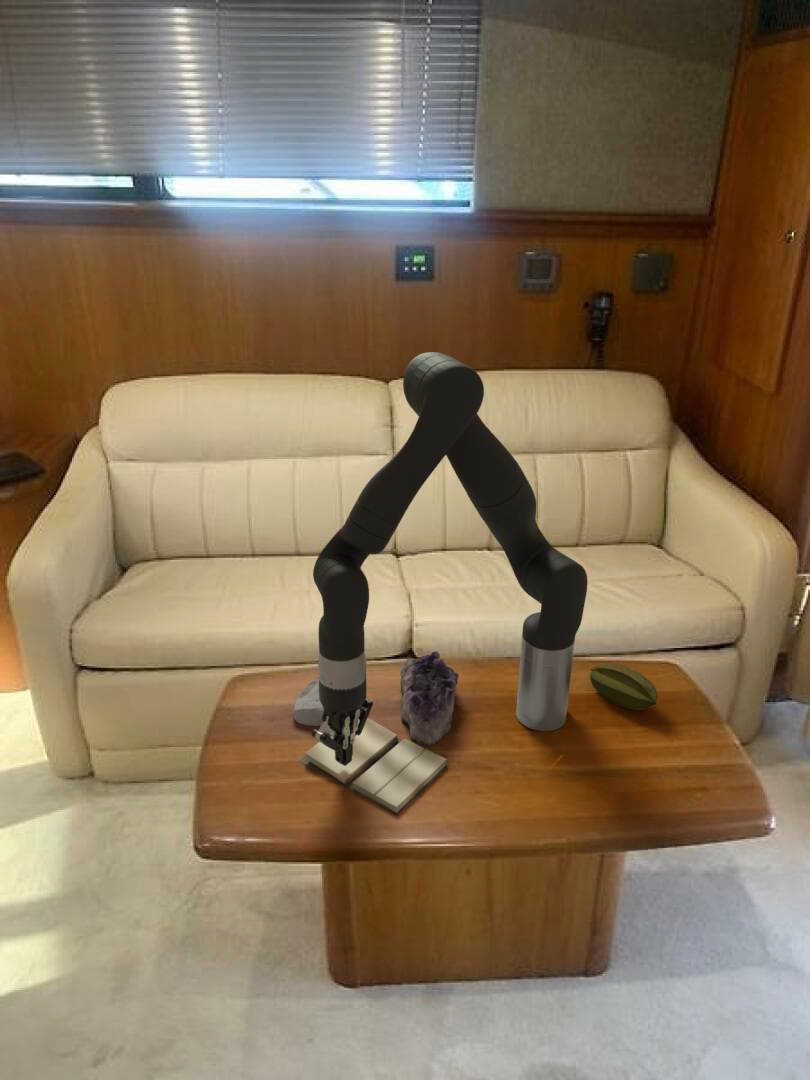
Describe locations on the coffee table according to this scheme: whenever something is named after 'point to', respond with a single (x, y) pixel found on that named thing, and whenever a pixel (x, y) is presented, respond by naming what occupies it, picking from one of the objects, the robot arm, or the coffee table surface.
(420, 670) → the geode
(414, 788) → the laid floor
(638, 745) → the coffee table surface
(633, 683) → the fruit
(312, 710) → the stone block
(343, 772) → the beige flat rectangular panel
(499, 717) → the coffee table surface
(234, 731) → the coffee table surface
